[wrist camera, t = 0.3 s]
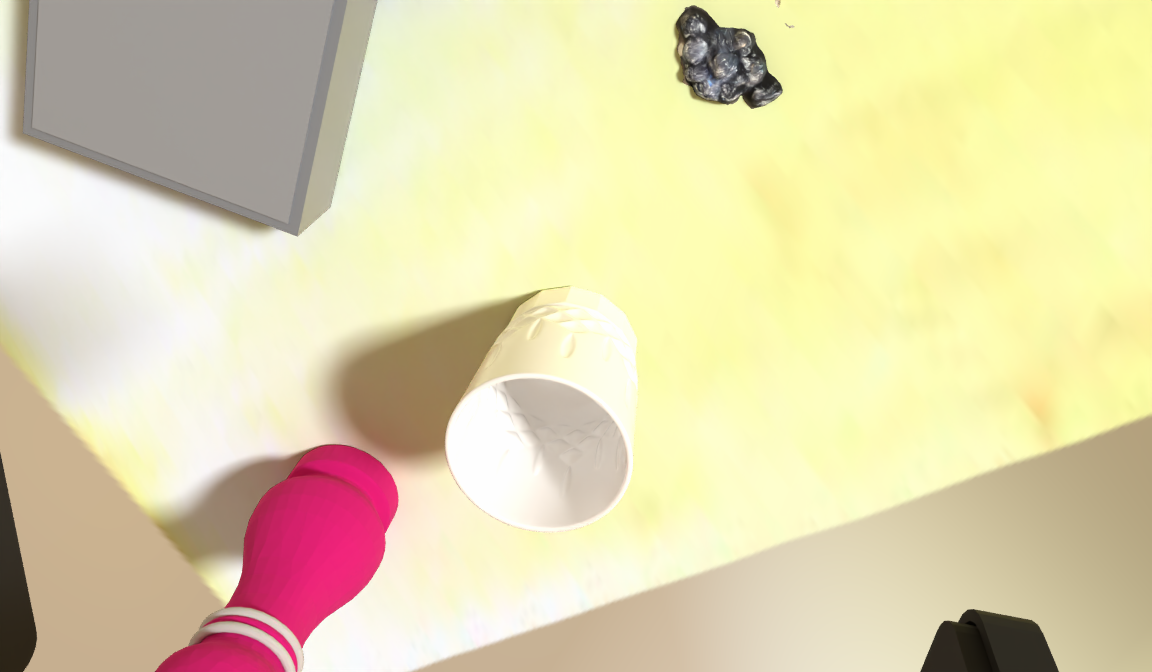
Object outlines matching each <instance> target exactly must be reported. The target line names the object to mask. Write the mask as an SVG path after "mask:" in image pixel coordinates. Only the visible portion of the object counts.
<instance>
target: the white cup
mask: <svg viewBox="0 0 1152 672" xmlns="http://www.w3.org/2000/svg"><path fill="white" fill-rule="evenodd" d="M636 354H637V338H636V335H635V333H634V331H633V329H632V327H631V325H630V323H629V321H628V319H627V317H626V315H625V313H624V312H623V311H622V310H620V309H619V308H618V307H617V306H615V305H614V304H613V303H612V302H610V301H609V300H608V299H607V298H606V297H604V296H603V295H602V294H599V293H595V292H592V291H588V290H585V289H581V288H577V287H574V286H568V287H562V288H555V289H548V290H542V291H540V292H539V293H538V294H536V295H535V296H533V297H532V298H530V299H529V300H527V301H526V302H524V303H523V304H521V305H520V306H519V307H518V308H517V310H516V312H515V314H514V316H513V317H512V319H511V321H510V323H509V324H508V326H507V327H506V328H505V329H504V330H503V332H502V333H501V334H500V335H499V336H498V338H497V340H496V341H495V342H494V344H493V346H492V347H491V349H490V350H489V351H488V353H487V355H486V356H485V358H484V360H483V362H482V363H481V365H480V367H479V368H478V370H477V372H476V374H475V375H474V377H473V379H472V380H471V382H470V384H469V386H468V387H467V389H466V391H465V392H464V394H463V396H462V398H461V399H460V401H459V403H458V404H457V406H456V408H455V409H454V411H453V413H452V415H451V417H450V419H449V422H448V425H447V429H446V434H445V453H446V459H447V463H448V466H449V469H450V471H451V474H452V476H453V478H454V480H455V481H456V483H457V485H458V486H459V488H460V489H461V490H462V492H463V493H464V494H465V495H466V496H467V497H468V498H469V500H470V501H472V502H473V503H474V504H475V505H476V506H477V507H478V508H480V509H481V510H482V511H484V512H485V513H487V514H488V515H490V516H491V517H493V518H495V519H497V520H499V521H501V522H503V523H505V524H508V525H511V526H513V527H517V528H520V529H524V530H529V531H536V532H563V531H569V530H574V529H577V528H581V527H584V526H586V525H589V524H591V523H593V522H595V521H597V520H598V519H600V518H602V517H603V516H604V515H606V514H607V513H608V512H609V511H611V510H612V509H613V508H614V507H615V506H616V504H617V503H618V502H619V501H620V499H621V498H622V496H623V495H624V493H625V491H626V489H627V487H628V485H629V482H630V479H631V474H632V468H633V452H634V437H635V424H636V409H637V396H638V392H637V383H638V375H637V371H636Z"/></svg>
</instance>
